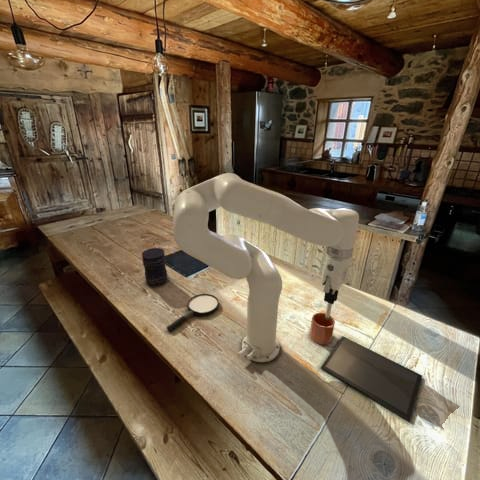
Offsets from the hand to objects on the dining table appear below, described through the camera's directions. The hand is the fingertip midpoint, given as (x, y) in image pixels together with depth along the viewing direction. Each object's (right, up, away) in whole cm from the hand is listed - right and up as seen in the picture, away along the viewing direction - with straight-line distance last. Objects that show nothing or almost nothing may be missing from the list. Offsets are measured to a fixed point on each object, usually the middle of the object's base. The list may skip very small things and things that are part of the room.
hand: (330, 300), depth 87 cm
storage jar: (-69, 0, +39) cm, 79 cm away
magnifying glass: (-48, -10, +18) cm, 52 cm away
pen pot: (-1, -14, +7) cm, 16 cm away
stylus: (0, -7, +3) cm, 8 cm away
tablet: (+10, -21, -6) cm, 24 cm away
